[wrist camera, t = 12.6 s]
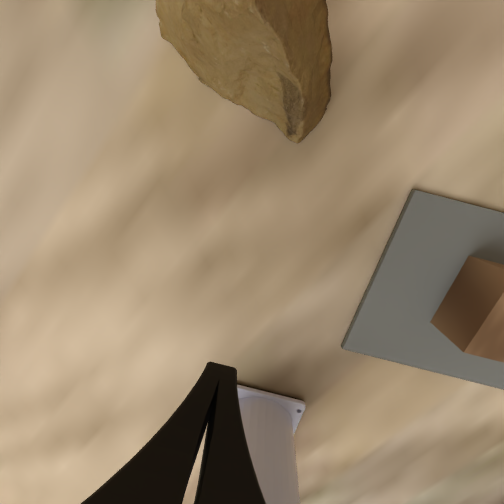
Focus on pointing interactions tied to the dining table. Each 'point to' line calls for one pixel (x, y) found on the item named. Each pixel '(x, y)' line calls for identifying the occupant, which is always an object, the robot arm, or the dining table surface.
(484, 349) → the walnut block
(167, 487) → the robot arm
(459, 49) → the dining table surface
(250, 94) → the rock
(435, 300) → the rubber mat
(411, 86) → the dining table surface
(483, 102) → the dining table surface
